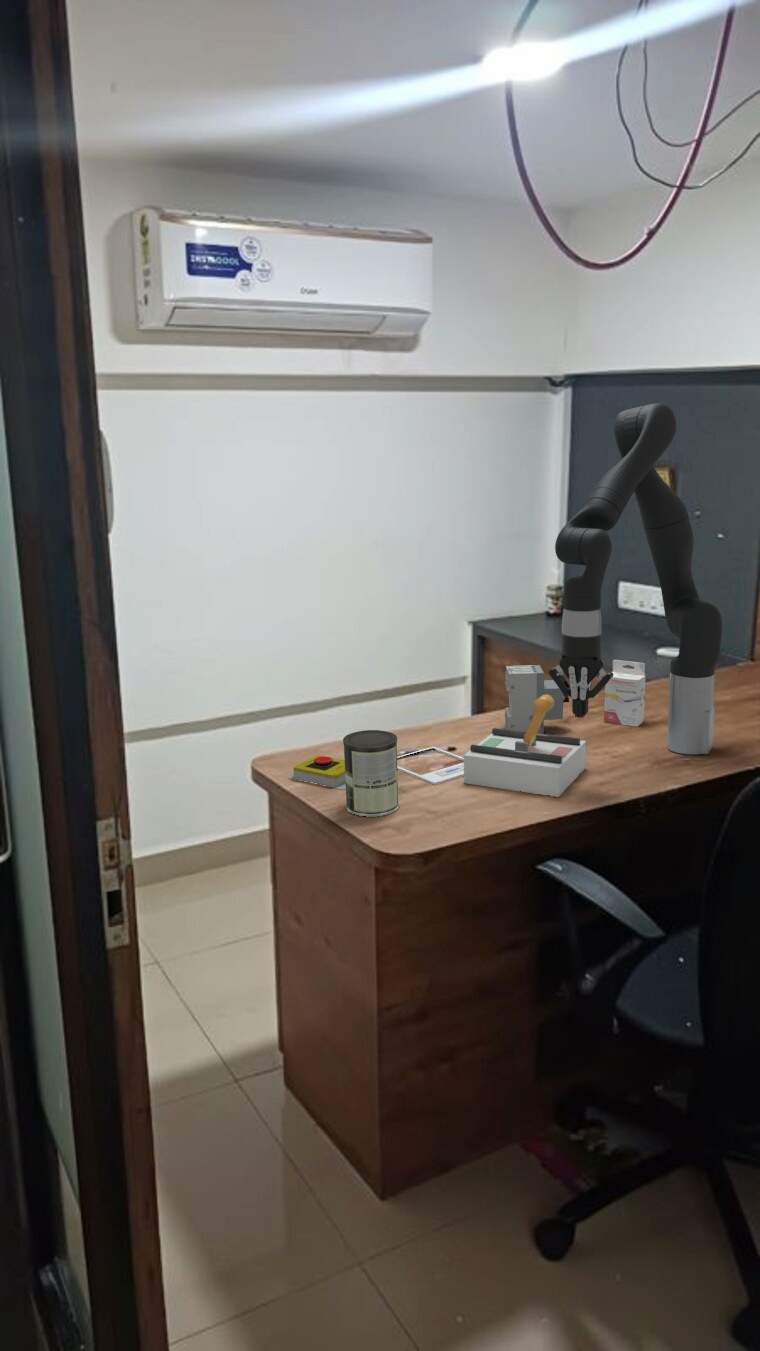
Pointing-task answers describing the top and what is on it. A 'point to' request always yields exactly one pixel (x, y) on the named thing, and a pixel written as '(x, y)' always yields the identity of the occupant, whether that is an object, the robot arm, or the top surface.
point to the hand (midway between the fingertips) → (579, 716)
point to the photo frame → (441, 774)
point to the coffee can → (371, 773)
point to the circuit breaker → (530, 697)
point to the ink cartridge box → (625, 694)
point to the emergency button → (321, 771)
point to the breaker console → (525, 762)
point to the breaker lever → (538, 716)
